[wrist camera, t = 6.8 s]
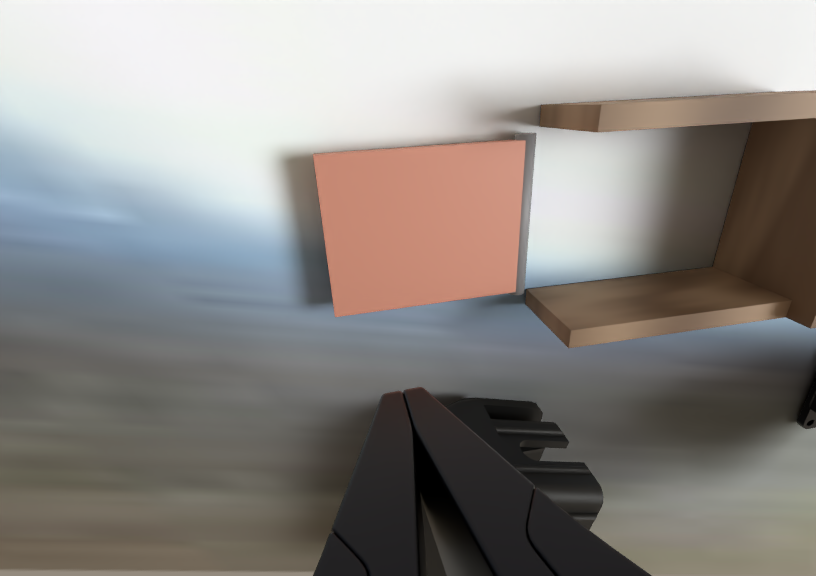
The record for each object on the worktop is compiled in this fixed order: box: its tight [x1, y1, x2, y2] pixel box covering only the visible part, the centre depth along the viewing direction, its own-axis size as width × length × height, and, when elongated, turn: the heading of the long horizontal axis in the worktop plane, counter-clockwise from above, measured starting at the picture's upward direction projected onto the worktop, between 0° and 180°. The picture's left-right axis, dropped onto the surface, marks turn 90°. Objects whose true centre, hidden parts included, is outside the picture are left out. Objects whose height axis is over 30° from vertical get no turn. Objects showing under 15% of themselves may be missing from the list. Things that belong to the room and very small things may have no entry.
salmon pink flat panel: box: [313, 133, 536, 317], centre depth 17 cm, size 1×7×9 cm
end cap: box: [420, 398, 603, 576], centre depth 20 cm, size 10×7×7 cm
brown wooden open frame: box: [525, 91, 816, 348], centre depth 17 cm, size 11×9×5 cm
